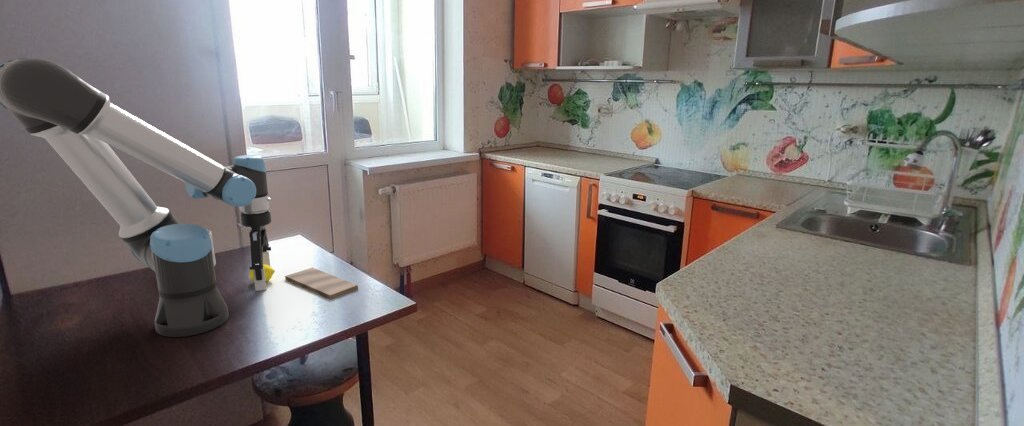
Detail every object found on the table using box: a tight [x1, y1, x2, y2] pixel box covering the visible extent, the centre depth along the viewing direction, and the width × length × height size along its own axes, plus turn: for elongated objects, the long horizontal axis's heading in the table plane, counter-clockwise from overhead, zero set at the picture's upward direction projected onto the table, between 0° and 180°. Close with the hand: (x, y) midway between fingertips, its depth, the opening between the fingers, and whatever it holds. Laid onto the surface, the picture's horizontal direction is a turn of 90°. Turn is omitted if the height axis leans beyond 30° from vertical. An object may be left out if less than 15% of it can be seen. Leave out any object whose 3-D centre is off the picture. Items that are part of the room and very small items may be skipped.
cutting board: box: [284, 267, 359, 300], centre depth 148 cm, size 22×9×1 cm, turn 54°
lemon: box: [248, 264, 276, 282], centre depth 149 cm, size 7×5×5 cm
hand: (263, 281), depth 150 cm, fingers open, 13 cm apart
